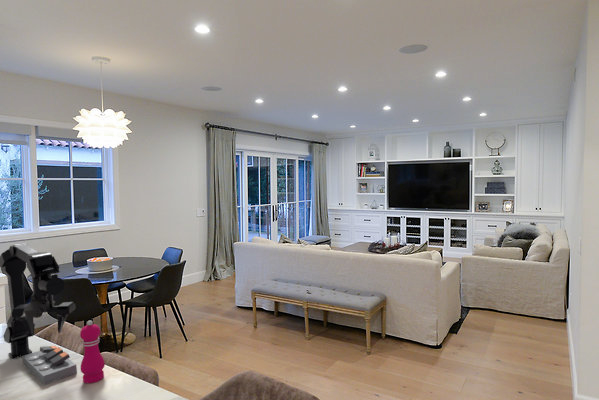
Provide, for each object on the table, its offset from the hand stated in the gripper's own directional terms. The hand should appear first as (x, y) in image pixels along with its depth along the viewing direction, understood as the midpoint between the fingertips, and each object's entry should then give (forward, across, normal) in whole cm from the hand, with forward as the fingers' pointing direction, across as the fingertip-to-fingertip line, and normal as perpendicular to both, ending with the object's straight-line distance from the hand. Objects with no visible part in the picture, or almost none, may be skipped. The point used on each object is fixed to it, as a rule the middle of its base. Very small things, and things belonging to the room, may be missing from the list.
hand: (45, 333), depth 141 cm
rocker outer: (+9, +5, -2) cm, 11 cm away
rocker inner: (+10, -3, +7) cm, 12 cm away
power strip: (+13, 0, +1) cm, 13 cm away
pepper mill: (+13, +19, -10) cm, 25 cm away
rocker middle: (+9, +1, +3) cm, 10 cm away
